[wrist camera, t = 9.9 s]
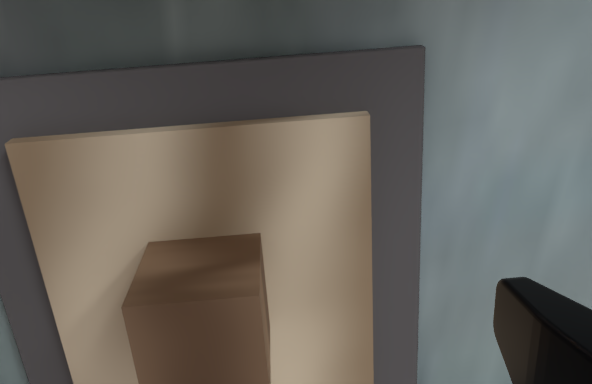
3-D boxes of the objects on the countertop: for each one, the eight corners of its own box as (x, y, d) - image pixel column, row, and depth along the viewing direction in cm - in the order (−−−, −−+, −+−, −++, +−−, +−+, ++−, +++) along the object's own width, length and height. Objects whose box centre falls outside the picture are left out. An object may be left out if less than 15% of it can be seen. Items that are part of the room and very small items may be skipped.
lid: (366, 110, 19) (396, 154, 14) (371, 385, 23) (394, 479, 19) (12, 138, 18) (-64, 191, 14) (88, 410, 23) (49, 511, 19)
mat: (420, 45, 18) (425, 47, 18) (412, 408, 25) (415, 417, 24) (-61, 82, 18) (-69, 85, 18) (56, 440, 24) (51, 450, 24)
